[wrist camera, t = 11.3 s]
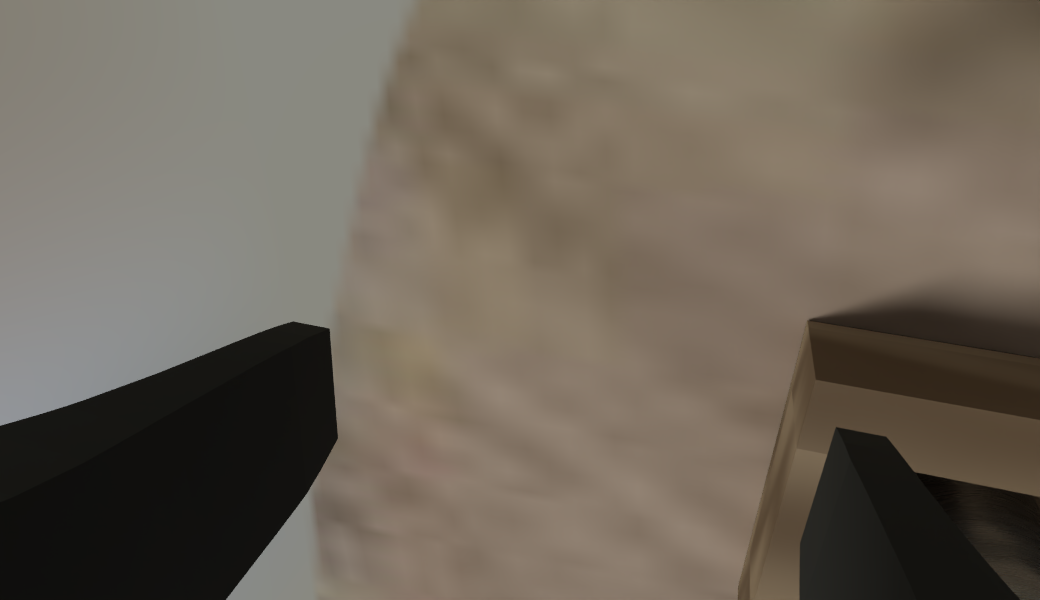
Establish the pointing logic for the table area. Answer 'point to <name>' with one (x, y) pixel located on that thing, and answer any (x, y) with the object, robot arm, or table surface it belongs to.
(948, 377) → the socket block
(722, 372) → the table surface
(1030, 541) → the grey cylinder
